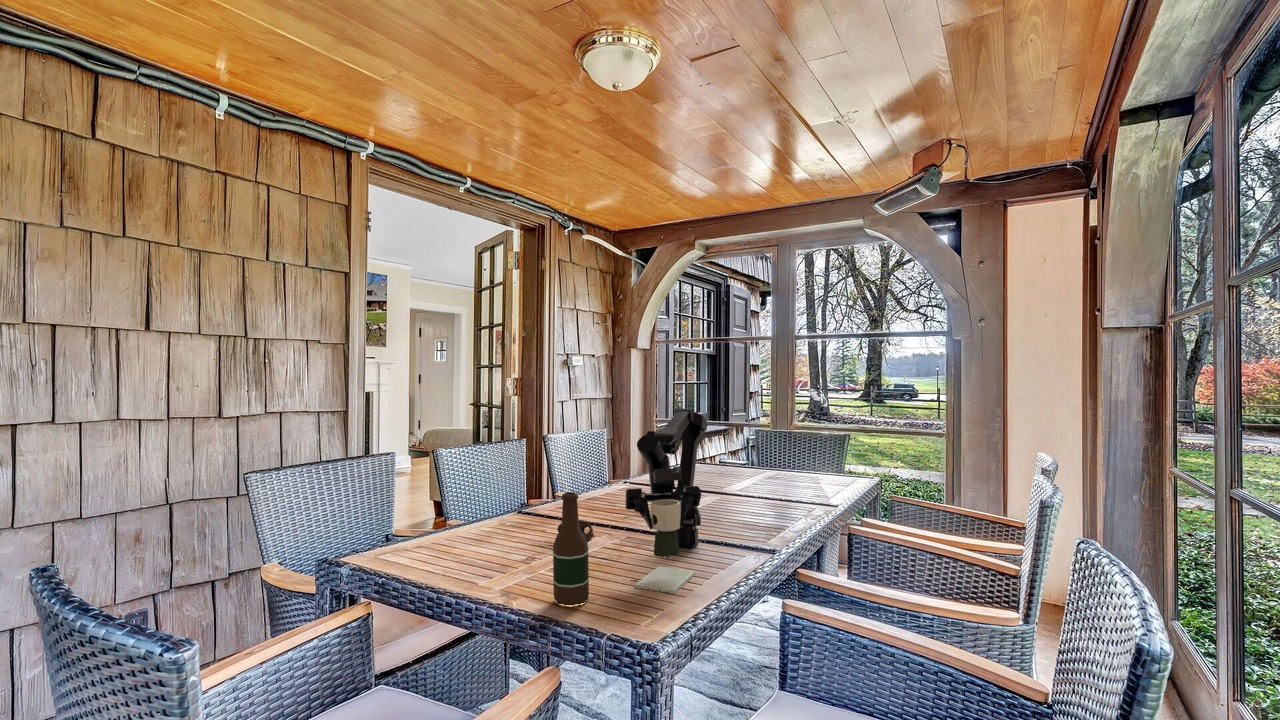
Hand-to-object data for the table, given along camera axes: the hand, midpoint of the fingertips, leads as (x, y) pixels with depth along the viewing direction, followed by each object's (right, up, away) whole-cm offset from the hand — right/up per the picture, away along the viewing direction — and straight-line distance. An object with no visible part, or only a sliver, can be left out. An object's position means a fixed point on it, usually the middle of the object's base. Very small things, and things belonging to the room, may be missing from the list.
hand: (666, 527), depth 143 cm
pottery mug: (-26, -15, +33) cm, 45 cm away
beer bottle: (-22, -14, -11) cm, 28 cm away
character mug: (0, -7, +1) cm, 7 cm away
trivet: (0, -13, +1) cm, 13 cm away
